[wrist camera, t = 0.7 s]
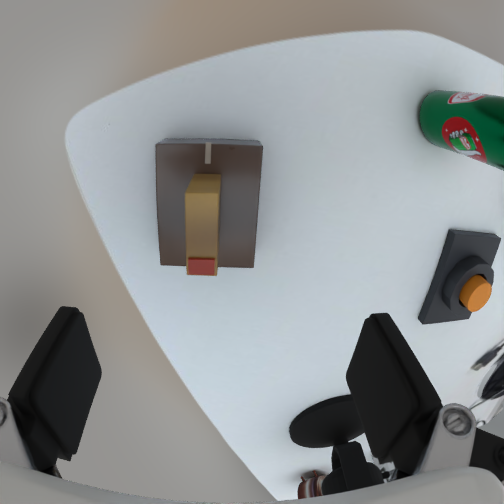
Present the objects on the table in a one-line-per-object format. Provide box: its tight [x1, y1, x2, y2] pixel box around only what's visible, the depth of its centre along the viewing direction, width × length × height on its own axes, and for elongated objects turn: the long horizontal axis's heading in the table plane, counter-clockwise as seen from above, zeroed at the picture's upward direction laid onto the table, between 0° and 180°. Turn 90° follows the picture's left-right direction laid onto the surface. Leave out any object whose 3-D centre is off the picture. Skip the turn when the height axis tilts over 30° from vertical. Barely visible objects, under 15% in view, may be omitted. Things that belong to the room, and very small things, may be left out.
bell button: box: [459, 275, 492, 312], centre depth 26 cm, size 4×4×2 cm
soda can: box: [420, 90, 504, 171], centre depth 16 cm, size 5×5×12 cm
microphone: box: [289, 395, 390, 496], centre depth 29 cm, size 14×14×25 cm
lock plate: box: [156, 139, 263, 268], centre depth 22 cm, size 9×7×3 cm
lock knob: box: [185, 174, 221, 276], centre depth 19 cm, size 5×2×5 cm, turn 176°
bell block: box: [418, 229, 501, 324], centre depth 28 cm, size 11×8×3 cm
